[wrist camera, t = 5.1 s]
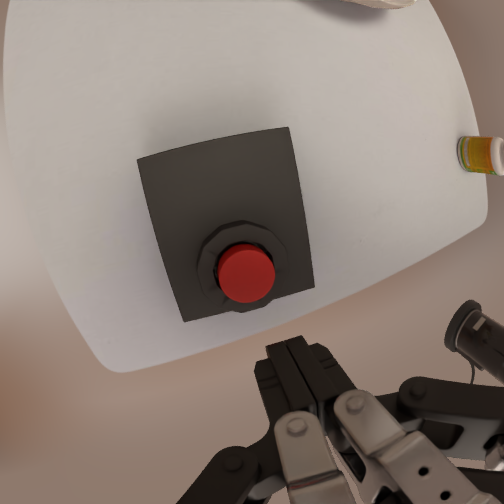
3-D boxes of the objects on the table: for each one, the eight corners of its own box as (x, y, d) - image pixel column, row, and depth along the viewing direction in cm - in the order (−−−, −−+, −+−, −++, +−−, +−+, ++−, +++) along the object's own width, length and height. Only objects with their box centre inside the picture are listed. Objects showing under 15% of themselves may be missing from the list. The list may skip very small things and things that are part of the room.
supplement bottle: (459, 174, 29) (512, 181, 20) (453, 137, 27) (506, 138, 18) (475, 168, 30) (523, 175, 20) (470, 134, 28) (518, 136, 19)
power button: (273, 285, 22) (279, 294, 20) (224, 298, 21) (226, 309, 19) (264, 237, 20) (270, 243, 19) (211, 251, 20) (212, 258, 18)
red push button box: (299, 271, 28) (323, 295, 22) (185, 301, 26) (183, 333, 21) (274, 133, 24) (296, 122, 18) (146, 162, 22) (130, 158, 16)
